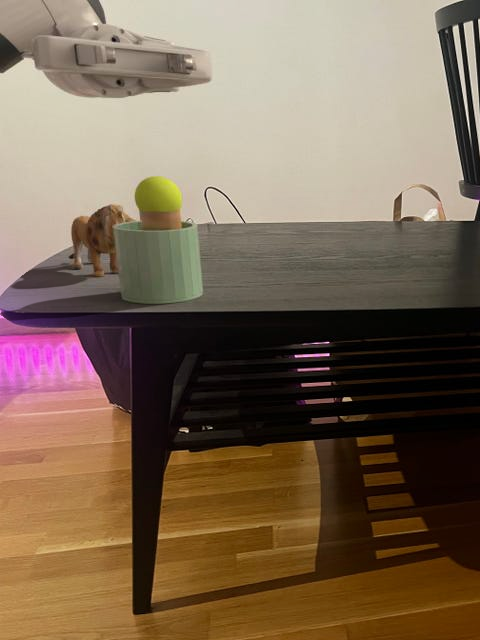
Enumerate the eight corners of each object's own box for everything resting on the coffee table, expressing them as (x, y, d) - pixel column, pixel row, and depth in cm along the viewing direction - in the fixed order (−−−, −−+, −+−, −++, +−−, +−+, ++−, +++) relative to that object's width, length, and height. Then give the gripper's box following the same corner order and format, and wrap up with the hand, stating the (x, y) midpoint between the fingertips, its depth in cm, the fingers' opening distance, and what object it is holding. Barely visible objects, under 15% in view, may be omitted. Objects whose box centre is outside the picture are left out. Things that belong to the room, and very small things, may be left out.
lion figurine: (150, 275, 91) (142, 204, 88) (110, 281, 86) (100, 207, 83) (88, 259, 98) (79, 194, 95) (48, 265, 94) (37, 196, 91)
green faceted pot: (126, 307, 76) (117, 232, 73) (117, 290, 82) (108, 221, 80) (210, 299, 80) (204, 229, 77) (195, 284, 87) (189, 219, 84)
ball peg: (149, 298, 78) (135, 178, 74) (142, 289, 82) (129, 174, 78) (194, 294, 80) (183, 178, 76) (186, 285, 84) (175, 174, 80)
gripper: (11, 25, 83) (47, 17, 74) (181, 43, 97) (230, 38, 88) (20, 82, 85) (56, 81, 76) (186, 92, 99) (233, 92, 90)
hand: (151, 58), depth 82 cm, fingers open, 8 cm apart
